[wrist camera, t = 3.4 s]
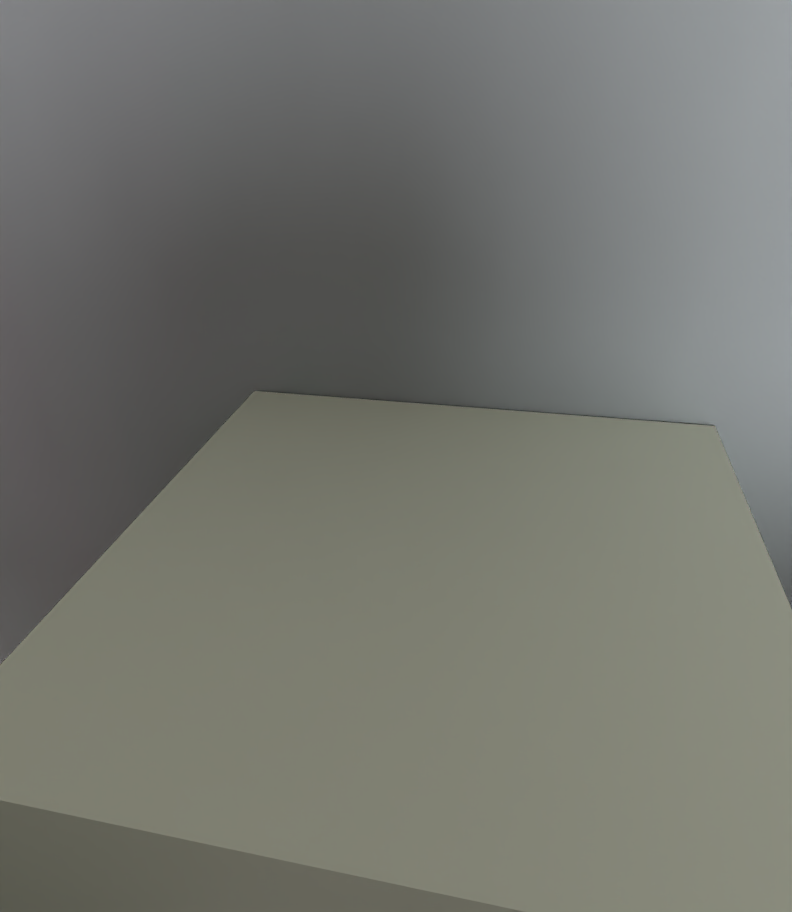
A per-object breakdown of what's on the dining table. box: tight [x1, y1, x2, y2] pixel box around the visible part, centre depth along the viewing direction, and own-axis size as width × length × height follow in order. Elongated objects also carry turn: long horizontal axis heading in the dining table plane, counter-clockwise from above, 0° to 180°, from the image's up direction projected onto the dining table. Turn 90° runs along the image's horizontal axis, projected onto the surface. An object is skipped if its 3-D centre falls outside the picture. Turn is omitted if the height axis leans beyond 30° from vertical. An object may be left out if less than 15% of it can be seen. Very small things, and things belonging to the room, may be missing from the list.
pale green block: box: [0, 391, 792, 912], centre depth 7 cm, size 8×5×5 cm, turn 1°
